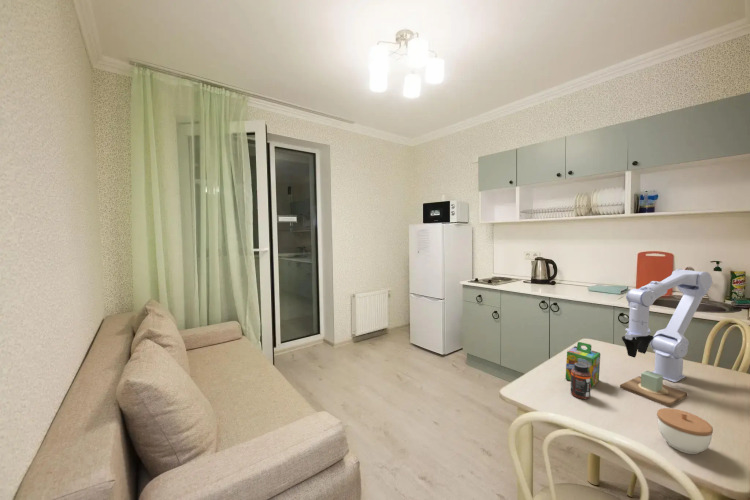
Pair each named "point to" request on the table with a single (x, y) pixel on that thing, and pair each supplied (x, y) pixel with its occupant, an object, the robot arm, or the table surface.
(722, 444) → the table surface
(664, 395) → the rest board
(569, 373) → the chalk box
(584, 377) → the supplement bottle
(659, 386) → the block
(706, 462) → the table surface
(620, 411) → the table surface
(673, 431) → the lidded jar
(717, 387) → the table surface
